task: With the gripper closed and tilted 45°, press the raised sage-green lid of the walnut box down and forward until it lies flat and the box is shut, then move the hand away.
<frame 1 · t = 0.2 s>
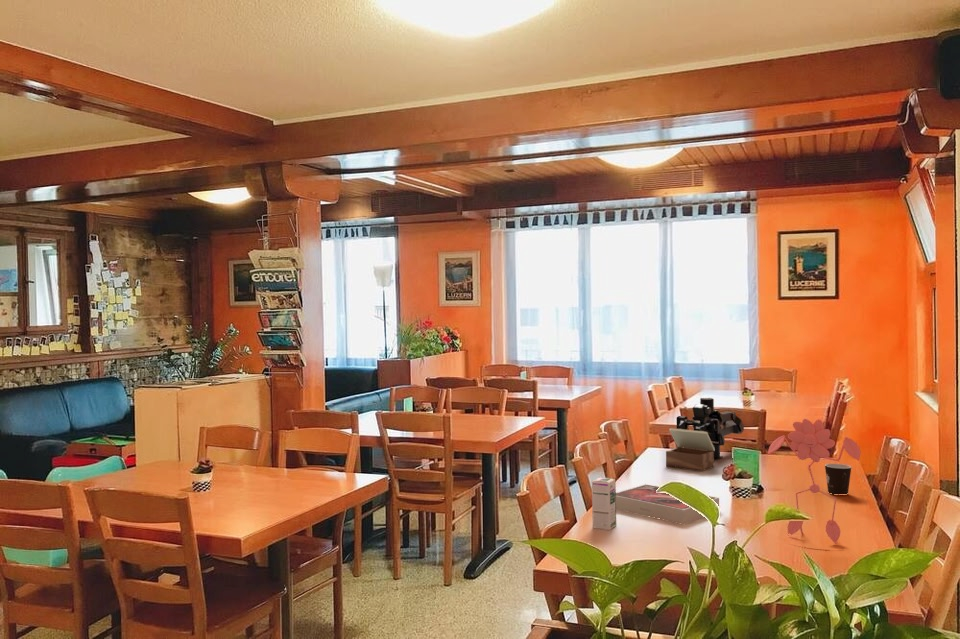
hand: (689, 427, 319), 17 cm above the table, tool horizontal, fingers open, 9 cm apart
product packaging: (663, 511, 250), on the table
coffee mug: (837, 495, 269), on the table
lid: (691, 439, 321), point 11 cm above the table, hinge at 45.0°
syrup box: (604, 527, 230), on the table
walnut box: (689, 466, 320), on the table
pink flower figurine: (810, 542, 214), on the table
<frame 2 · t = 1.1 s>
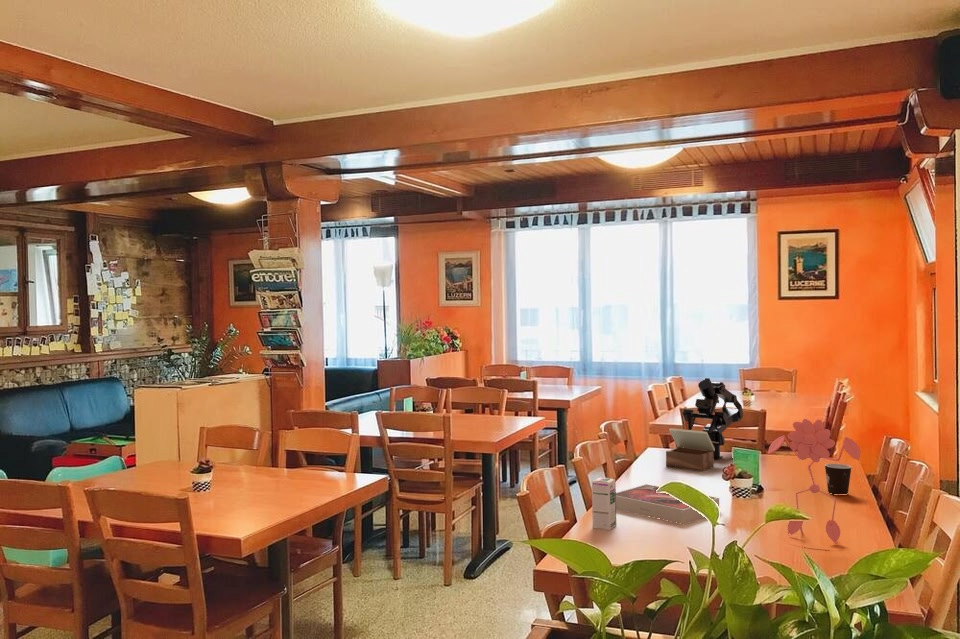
hand: (698, 431, 327), 14 cm above the table, tool tilted 45°, fingers open, 9 cm apart
nothing on the table moved.
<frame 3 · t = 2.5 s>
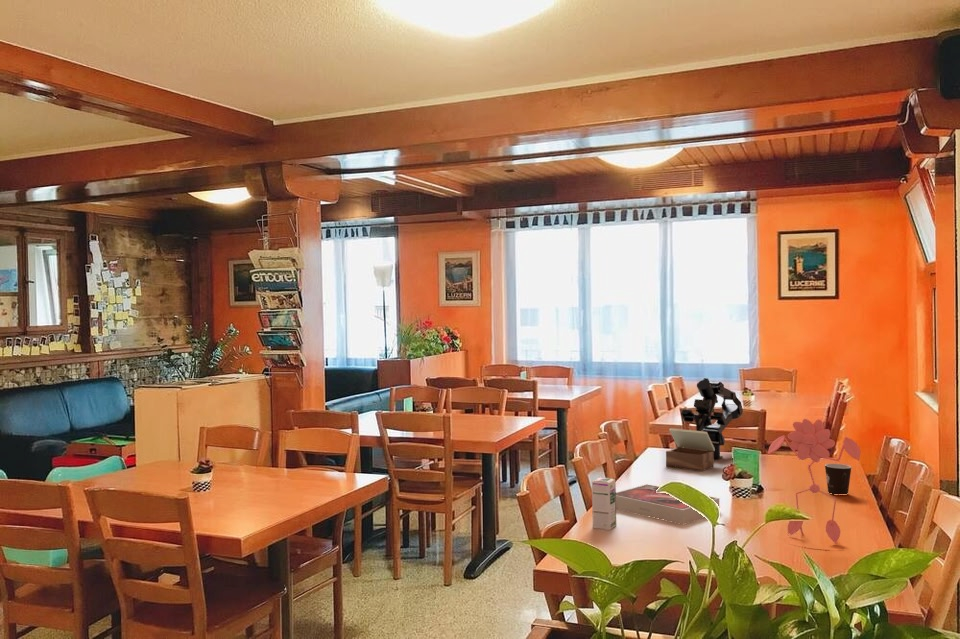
hand: (697, 432, 326), 14 cm above the table, tool tilted 45°, fingers closed
nothing on the table moved.
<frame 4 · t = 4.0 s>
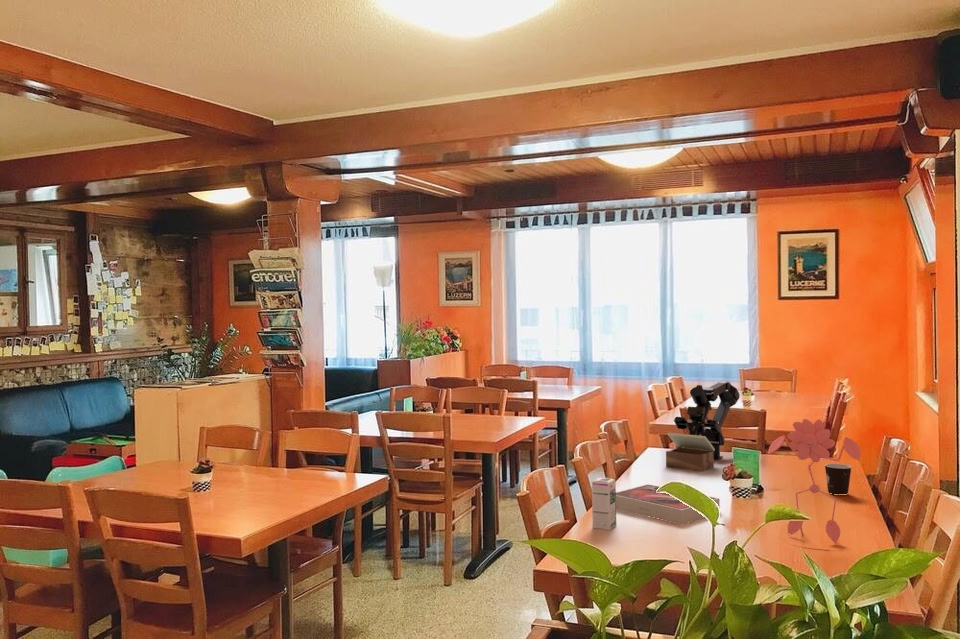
hand: (690, 439, 320), 11 cm above the table, tool tilted 45°, fingers closed, pressing on lid
lid: (691, 441, 321), point 10 cm above the table, hinge at 33.9°, touching gripper
everything else where it was.
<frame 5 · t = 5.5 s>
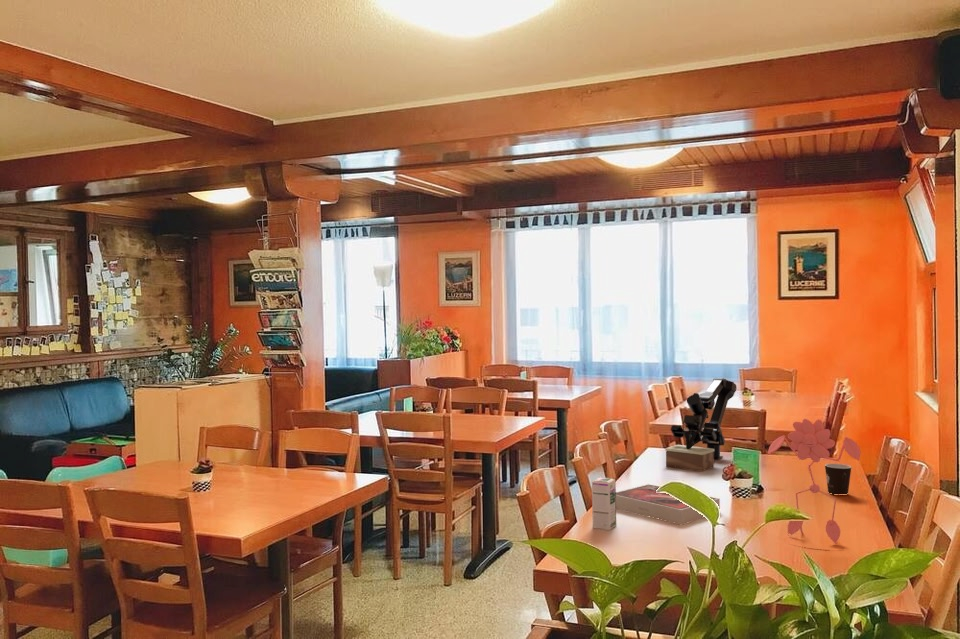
hand: (687, 448, 318), 8 cm above the table, tool tilted 45°, fingers closed, pressing on lid
lid: (689, 449, 320), point 7 cm above the table, hinge at 0.8°, touching gripper
everything else where it was.
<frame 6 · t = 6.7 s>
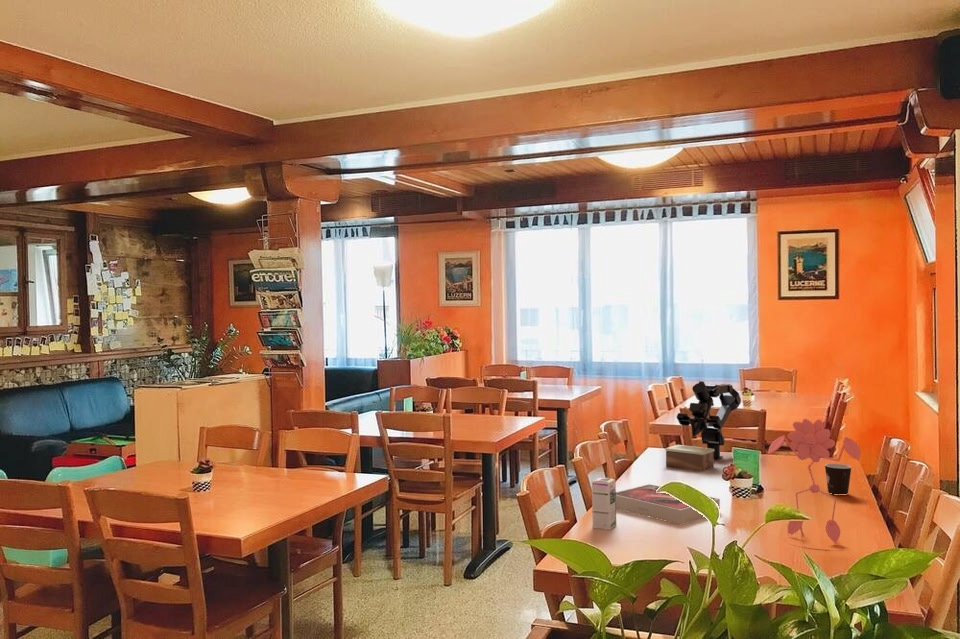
hand: (693, 436, 322), 13 cm above the table, tool tilted 45°, fingers closed
lid: (689, 449, 320), point 7 cm above the table, hinge at 0.7°
everything else where it was.
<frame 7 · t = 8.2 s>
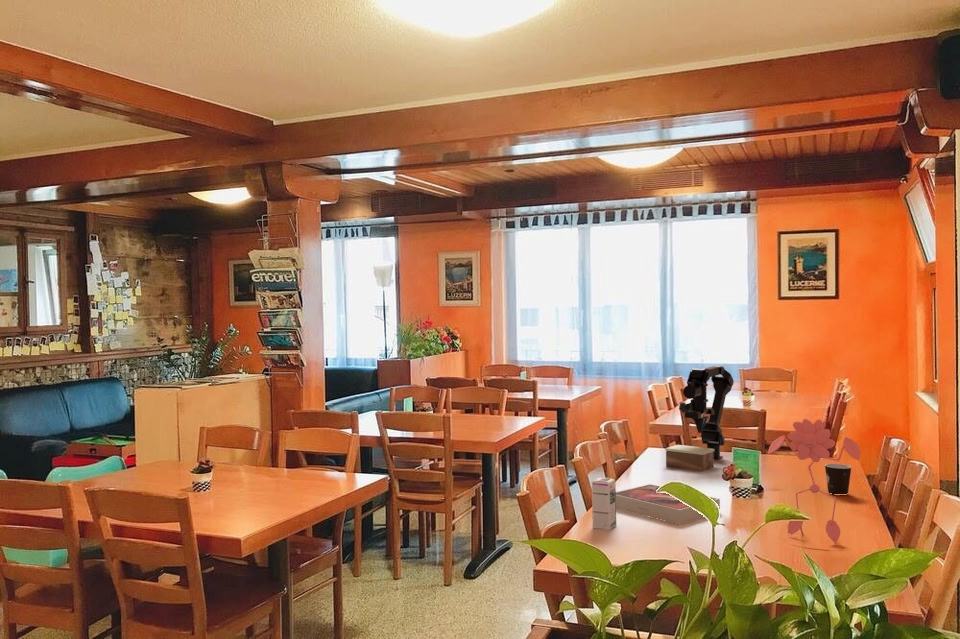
hand: (699, 432, 328), 13 cm above the table, tool pointing down, fingers closed
nothing on the table moved.
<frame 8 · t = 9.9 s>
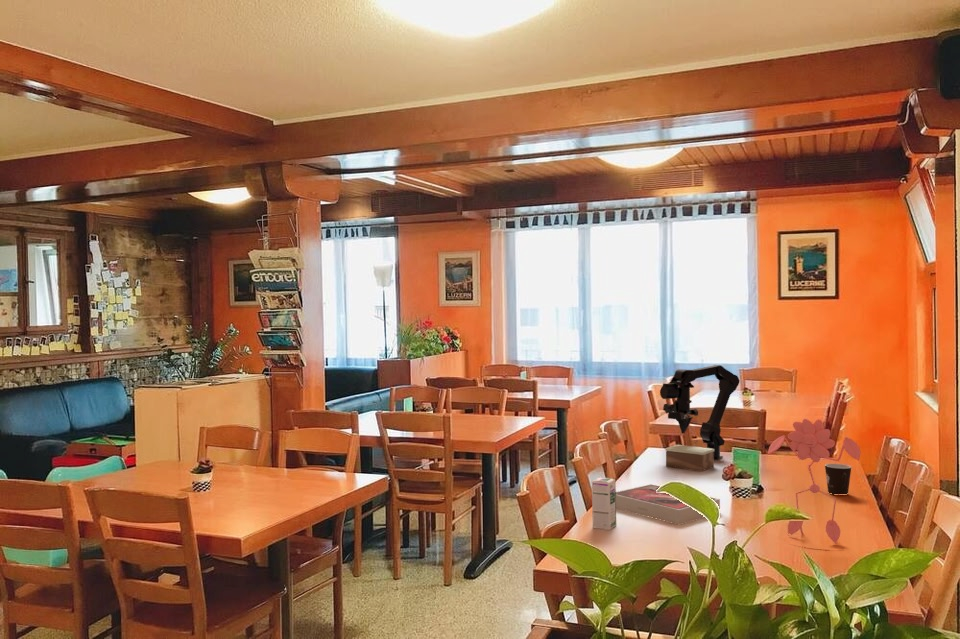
hand: (683, 433, 333), 12 cm above the table, tool pointing down, fingers closed
nothing on the table moved.
at the end: lid at +1° (first picture: +45°) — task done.
